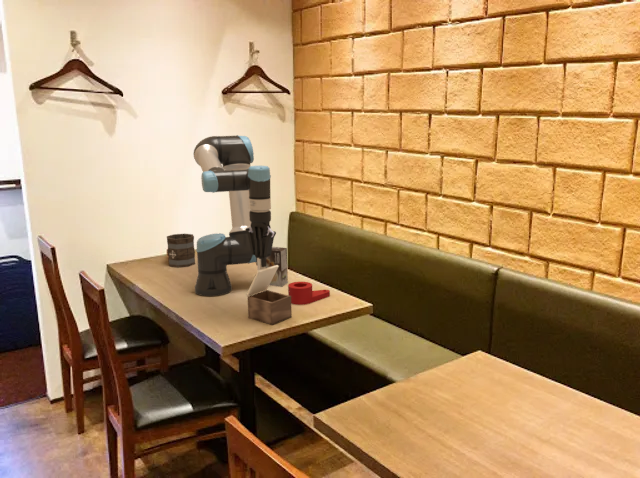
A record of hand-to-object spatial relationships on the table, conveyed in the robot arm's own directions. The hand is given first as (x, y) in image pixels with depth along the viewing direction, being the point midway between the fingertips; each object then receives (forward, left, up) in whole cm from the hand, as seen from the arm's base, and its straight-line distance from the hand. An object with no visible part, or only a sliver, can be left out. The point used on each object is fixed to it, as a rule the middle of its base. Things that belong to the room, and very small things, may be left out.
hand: (261, 275), depth 203 cm
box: (+3, 0, -16) cm, 16 cm away
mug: (-83, +26, -16) cm, 88 cm away
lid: (-3, 0, -8) cm, 8 cm away
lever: (+1, +25, -16) cm, 30 cm away
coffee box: (-23, +31, -16) cm, 42 cm away
